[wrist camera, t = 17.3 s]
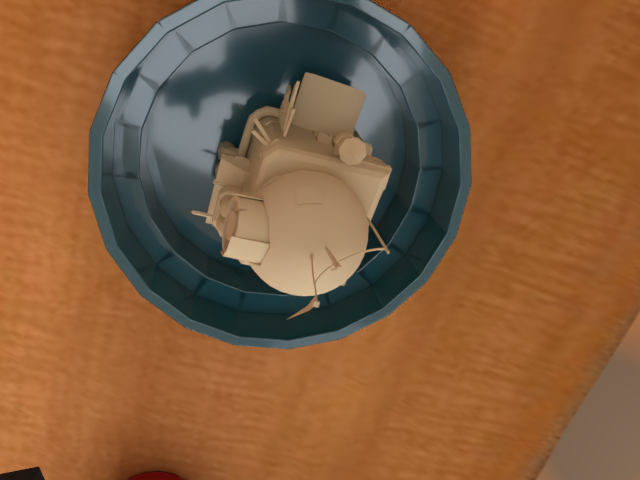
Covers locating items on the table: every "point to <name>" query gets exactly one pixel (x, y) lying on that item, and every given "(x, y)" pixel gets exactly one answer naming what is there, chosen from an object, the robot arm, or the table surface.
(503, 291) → the table surface
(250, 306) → the shallow teal bowl
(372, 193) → the robot
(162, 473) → the plastic cup
